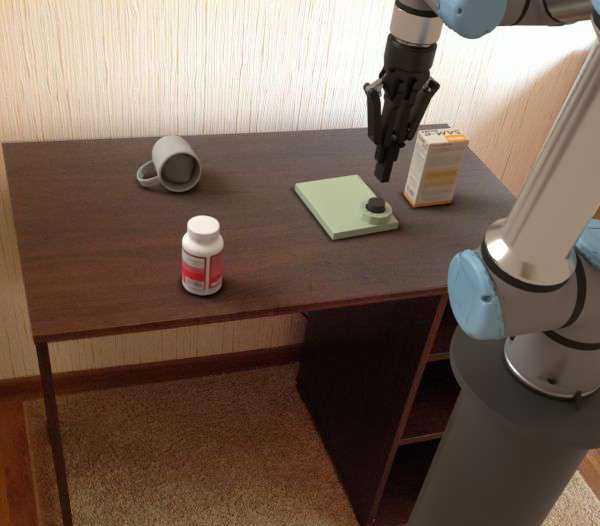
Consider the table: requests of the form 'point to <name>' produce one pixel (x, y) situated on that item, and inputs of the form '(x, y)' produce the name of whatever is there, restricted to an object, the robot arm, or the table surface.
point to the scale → (344, 206)
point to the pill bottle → (202, 256)
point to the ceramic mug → (172, 165)
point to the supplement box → (435, 166)
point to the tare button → (376, 205)
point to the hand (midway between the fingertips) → (381, 178)
